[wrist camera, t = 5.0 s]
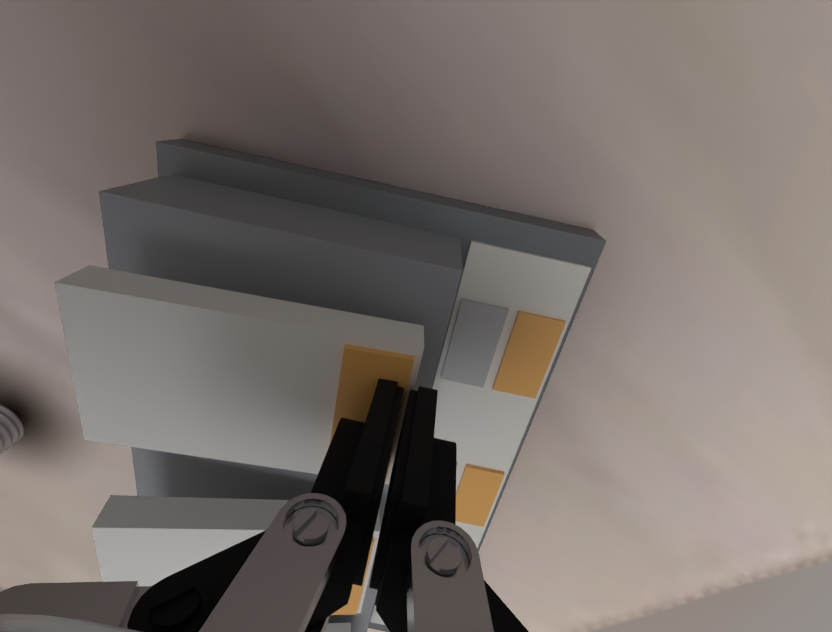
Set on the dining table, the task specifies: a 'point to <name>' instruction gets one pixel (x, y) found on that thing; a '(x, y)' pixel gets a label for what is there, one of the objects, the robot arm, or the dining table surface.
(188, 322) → the switch
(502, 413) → the switch unit
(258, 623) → the robot arm
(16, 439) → the lightbulb
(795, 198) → the dining table surface
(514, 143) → the dining table surface
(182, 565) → the switch
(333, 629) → the switch
